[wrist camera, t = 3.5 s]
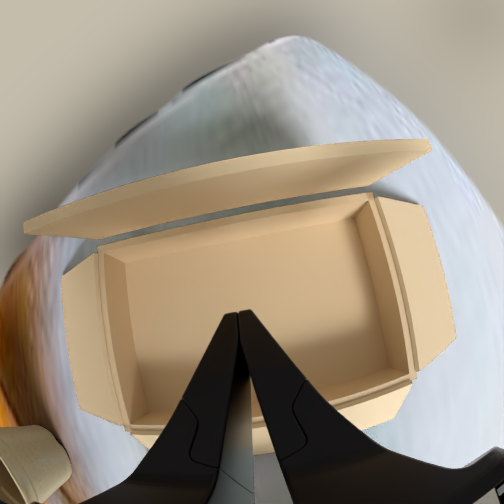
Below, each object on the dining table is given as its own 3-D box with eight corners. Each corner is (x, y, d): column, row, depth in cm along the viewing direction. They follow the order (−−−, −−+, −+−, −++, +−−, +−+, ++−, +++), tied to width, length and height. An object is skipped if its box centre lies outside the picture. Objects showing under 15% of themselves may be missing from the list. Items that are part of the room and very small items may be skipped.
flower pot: (8, 414, 16) (-48, 424, 7) (52, 400, 17) (-18, 416, 8) (49, 490, 14) (2, 515, 5) (103, 490, 14) (52, 531, 6)
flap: (367, 185, 16) (432, 150, 9) (99, 239, 16) (23, 233, 9) (365, 178, 16) (428, 138, 9) (98, 231, 16) (23, 222, 9)
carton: (458, 384, 16) (486, 390, 12) (95, 451, 15) (71, 467, 12) (419, 202, 20) (442, 181, 16) (63, 272, 19) (34, 261, 16)
